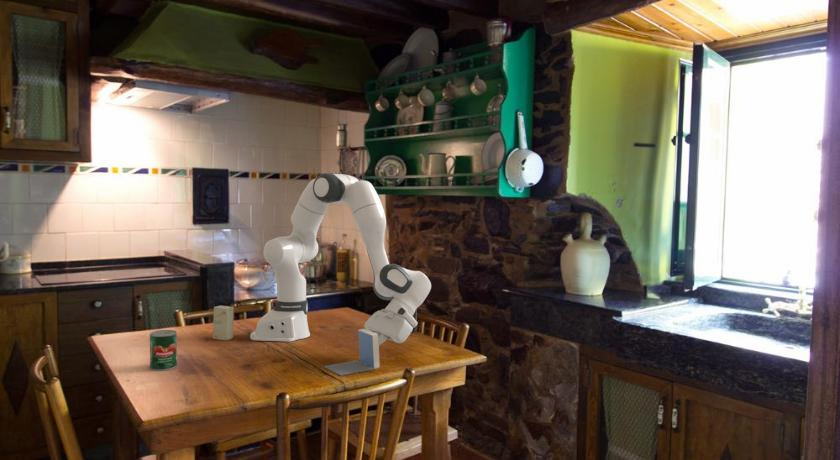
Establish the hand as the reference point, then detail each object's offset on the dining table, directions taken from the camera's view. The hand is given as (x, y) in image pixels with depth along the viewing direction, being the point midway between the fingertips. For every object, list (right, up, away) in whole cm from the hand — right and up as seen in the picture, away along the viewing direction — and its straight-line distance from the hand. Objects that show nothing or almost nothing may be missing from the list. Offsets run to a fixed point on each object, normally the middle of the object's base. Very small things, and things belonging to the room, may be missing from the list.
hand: (372, 346), depth 197 cm
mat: (-7, -6, -5) cm, 11 cm away
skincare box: (-59, -3, +30) cm, 66 cm away
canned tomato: (-66, -5, -7) cm, 66 cm away
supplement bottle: (+11, -3, +47) cm, 49 cm away
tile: (-1, -6, 0) cm, 6 cm away
